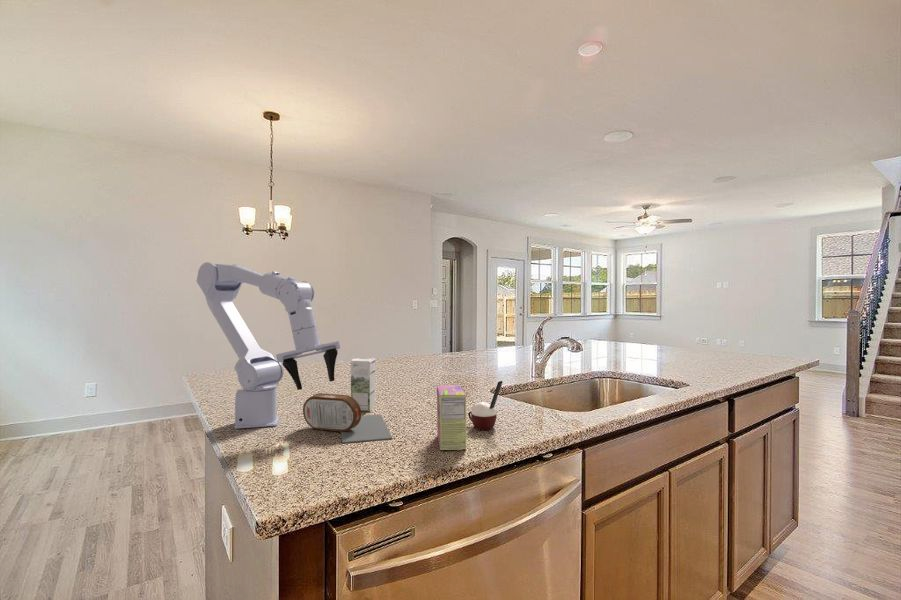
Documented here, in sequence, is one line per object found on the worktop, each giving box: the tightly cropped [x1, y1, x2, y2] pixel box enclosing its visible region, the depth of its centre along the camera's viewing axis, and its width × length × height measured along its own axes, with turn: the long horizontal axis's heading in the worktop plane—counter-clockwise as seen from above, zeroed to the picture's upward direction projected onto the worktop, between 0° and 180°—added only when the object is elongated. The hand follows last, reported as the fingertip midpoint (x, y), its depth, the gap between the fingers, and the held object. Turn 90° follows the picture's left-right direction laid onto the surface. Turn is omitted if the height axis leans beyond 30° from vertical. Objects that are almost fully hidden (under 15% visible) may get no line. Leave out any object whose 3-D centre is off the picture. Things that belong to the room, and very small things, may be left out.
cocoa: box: [467, 380, 503, 431], centre depth 106 cm, size 10×6×12 cm, turn 29°
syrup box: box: [350, 357, 376, 412], centre depth 123 cm, size 6×6×14 cm
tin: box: [302, 392, 362, 433], centre depth 103 cm, size 15×3×8 cm, turn 71°
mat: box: [340, 414, 393, 444], centre depth 106 cm, size 11×20×1 cm, turn 17°
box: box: [436, 384, 467, 451], centre depth 95 cm, size 10×6×12 cm, turn 5°
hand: (316, 385), depth 103 cm, fingers open, 7 cm apart
